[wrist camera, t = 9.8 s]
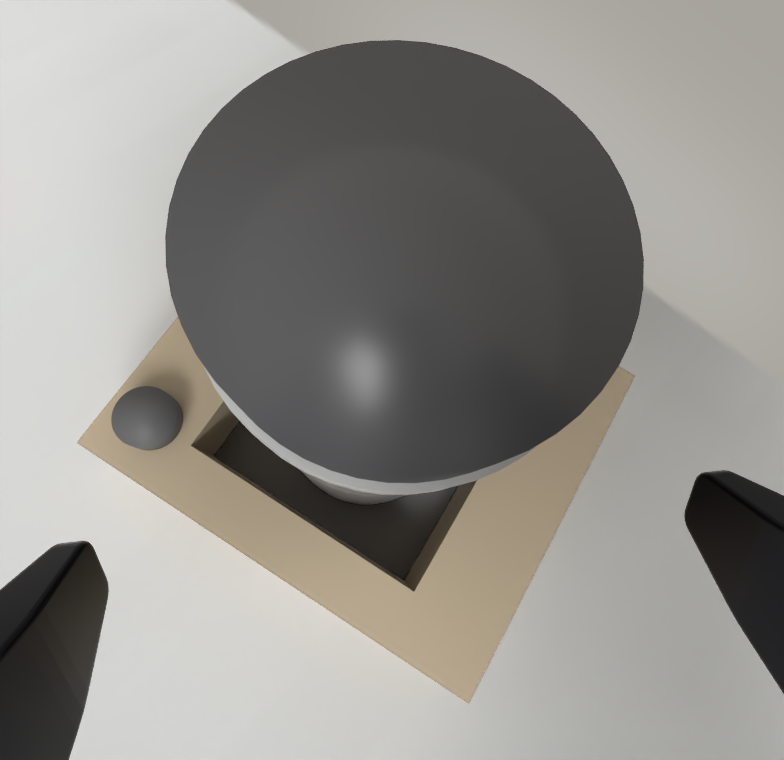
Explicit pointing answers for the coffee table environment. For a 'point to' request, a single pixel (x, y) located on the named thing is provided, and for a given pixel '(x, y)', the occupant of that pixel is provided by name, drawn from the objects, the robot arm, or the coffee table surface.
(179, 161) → the coffee table surface
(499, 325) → the canister
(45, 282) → the coffee table surface
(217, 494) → the tan square frame
